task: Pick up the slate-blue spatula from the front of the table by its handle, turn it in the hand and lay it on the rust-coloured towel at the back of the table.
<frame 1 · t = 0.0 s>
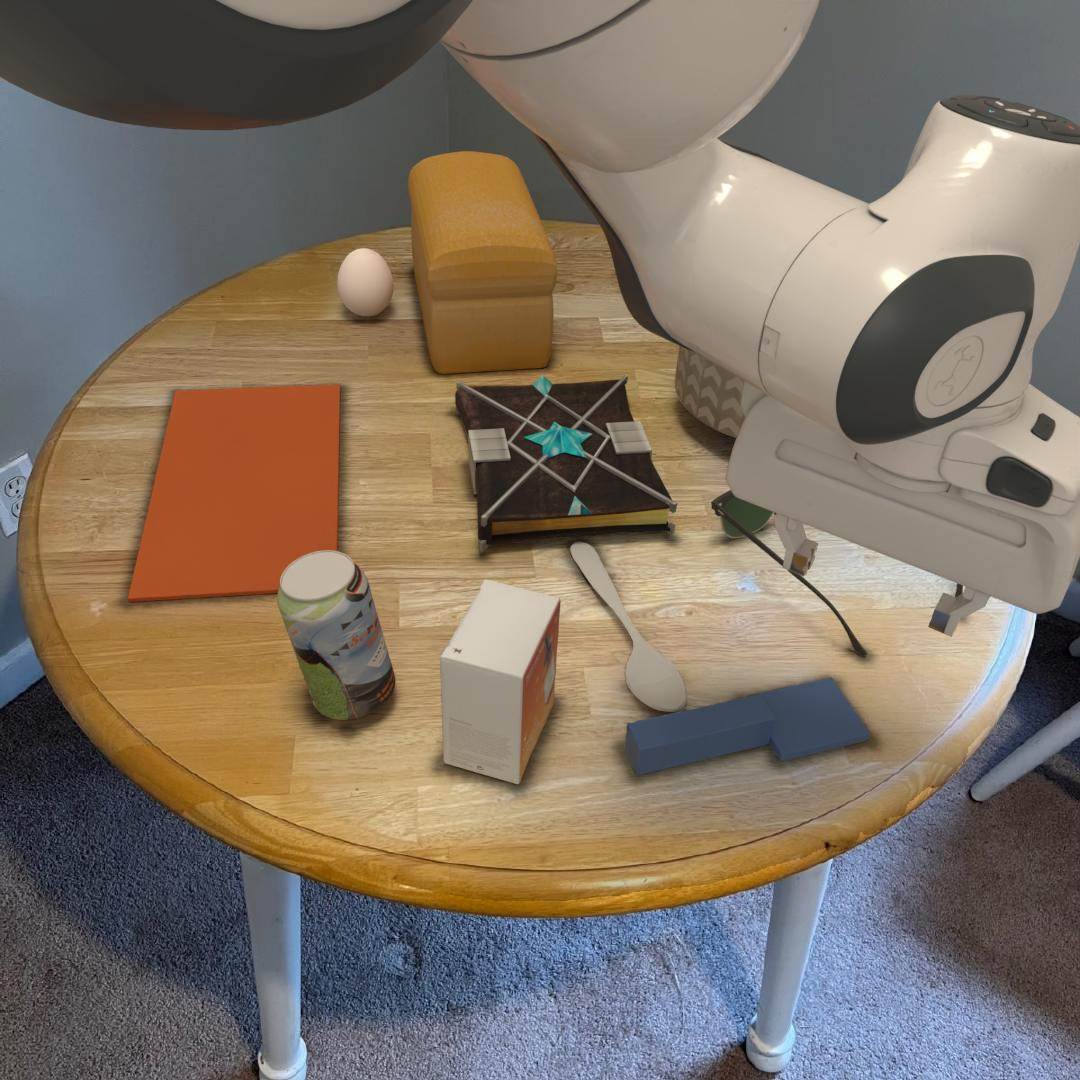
hand: (868, 596, 68), 14 cm above the table, tool pointing down, fingers open, 8 cm apart
book: (557, 473, 100), on the table, touching spoon
planter: (766, 418, 108), on the table
egg: (367, 315, 122), on the table
spoon: (620, 627, 85), on the table, touching book
beverage can: (345, 698, 79), on the table
towel: (247, 481, 97), on the table
spatula: (742, 736, 77), on the table
small box: (500, 734, 77), on the table
bread: (477, 316, 122), on the table
sunglasses: (840, 574, 91), on the table
flower pot: (701, 303, 127), on the table
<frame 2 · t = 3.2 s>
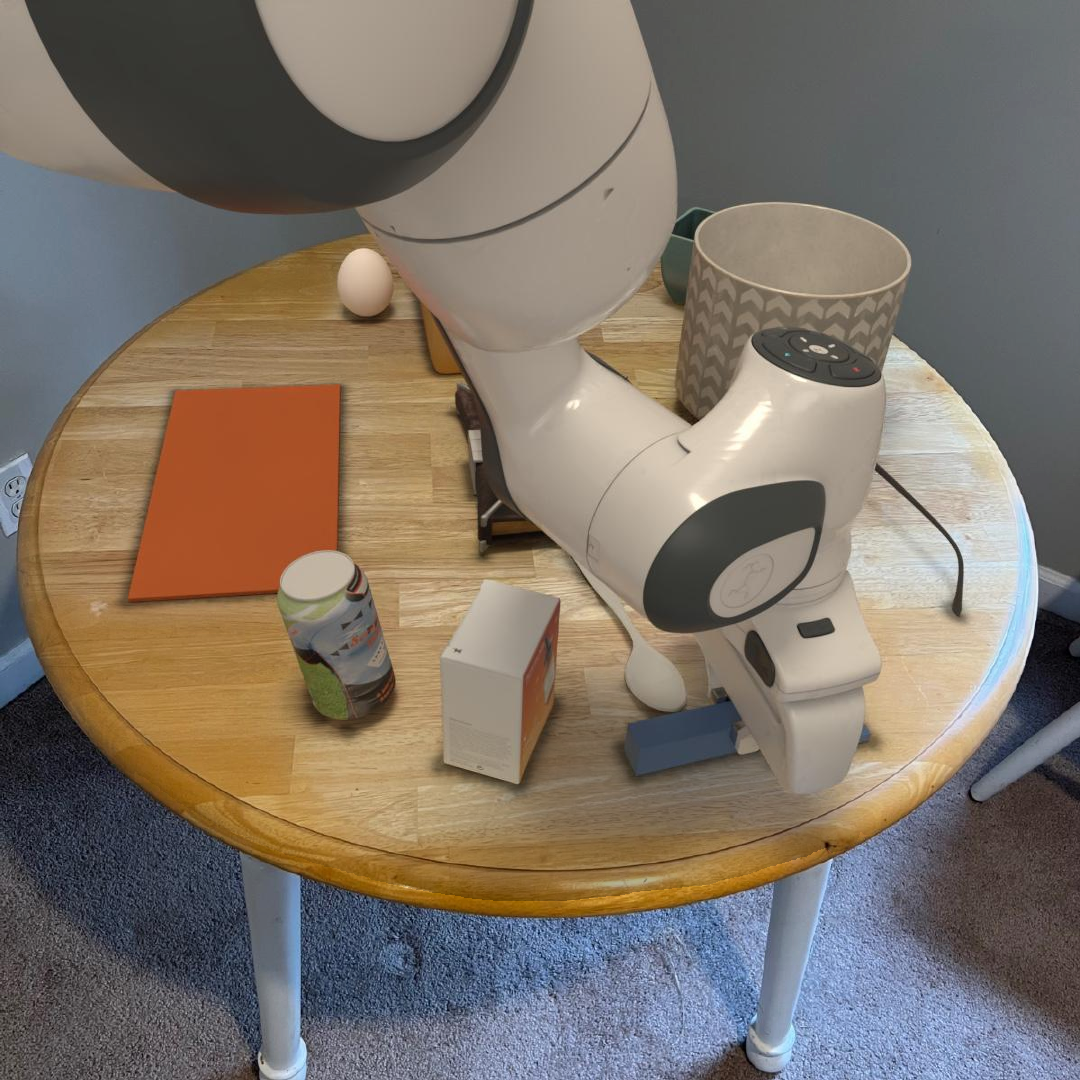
hand: (732, 725, 76), 2 cm above the table, tool pointing down, fingers closed on spatula, 2 cm apart
spatula: (742, 736, 77), on the table, touching gripper
everything else where it was.
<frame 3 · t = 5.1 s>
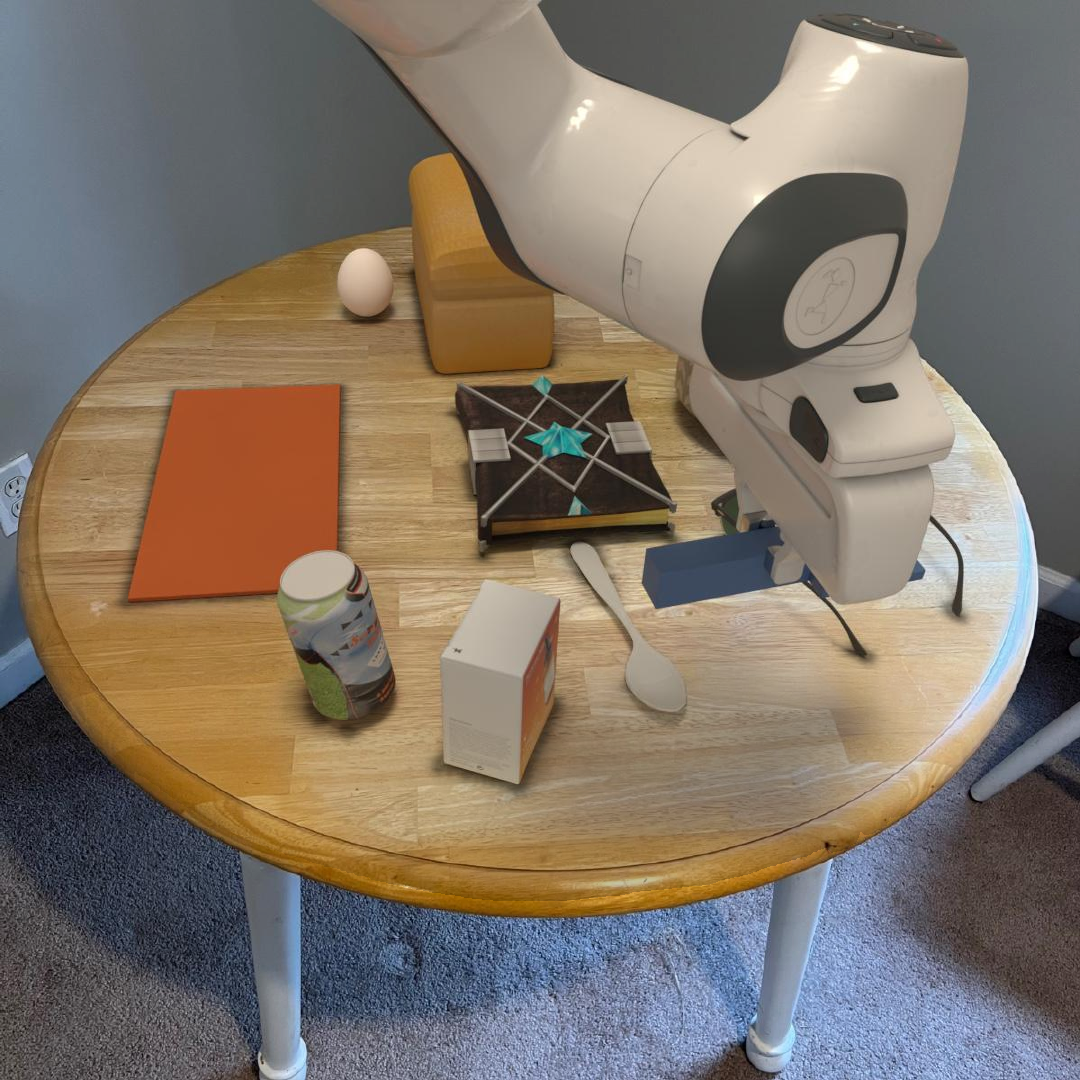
hand: (767, 555, 66), 17 cm above the table, tool pointing down, fingers closed on spatula, 2 cm apart
spatula: (777, 573, 67), point 16 cm above the table, touching gripper
everything else where it was.
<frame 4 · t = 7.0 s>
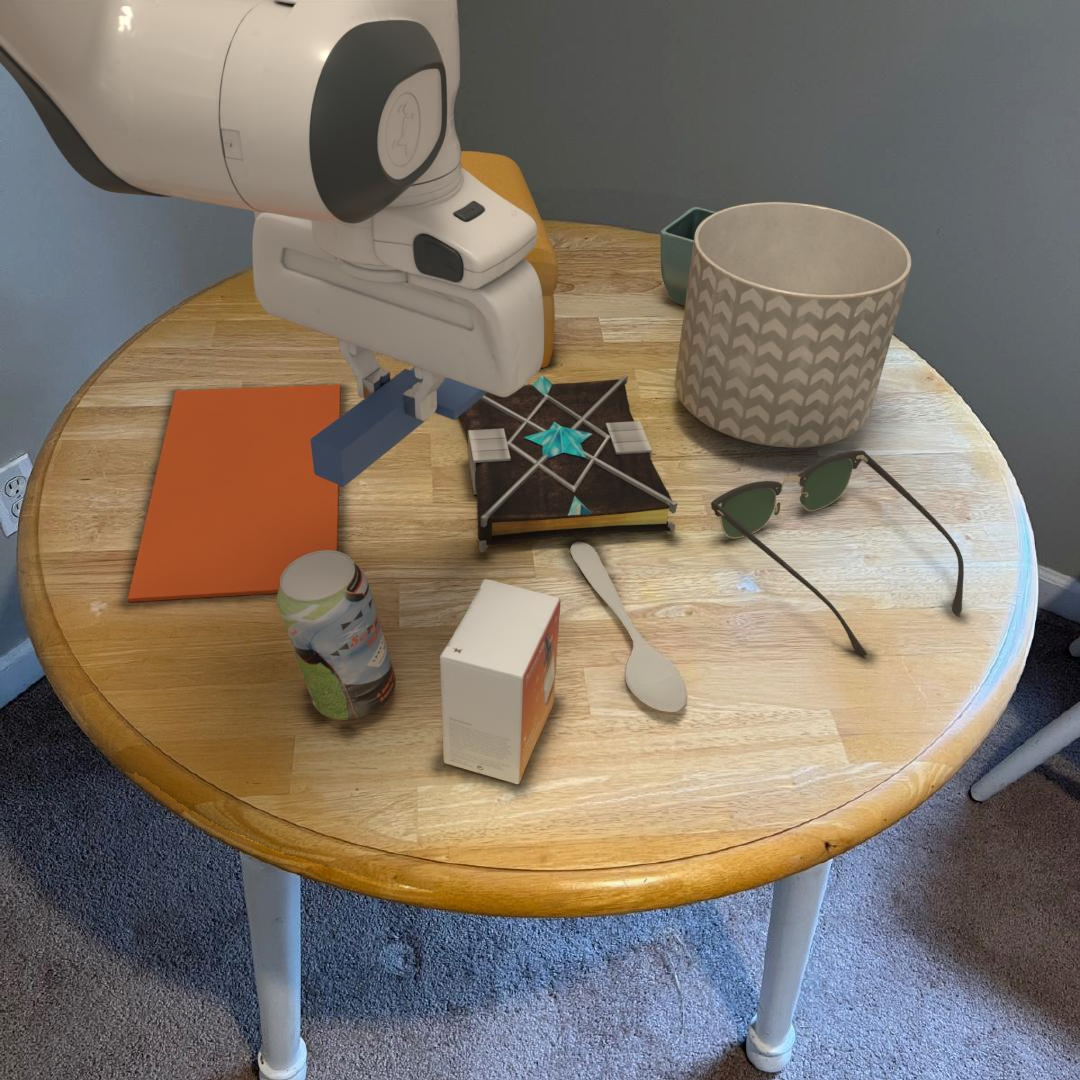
hand: (397, 405, 73), 19 cm above the table, tool pointing down, fingers closed on spatula, 2 cm apart
spatula: (408, 418, 75), point 18 cm above the table, touching gripper
everything else where it was.
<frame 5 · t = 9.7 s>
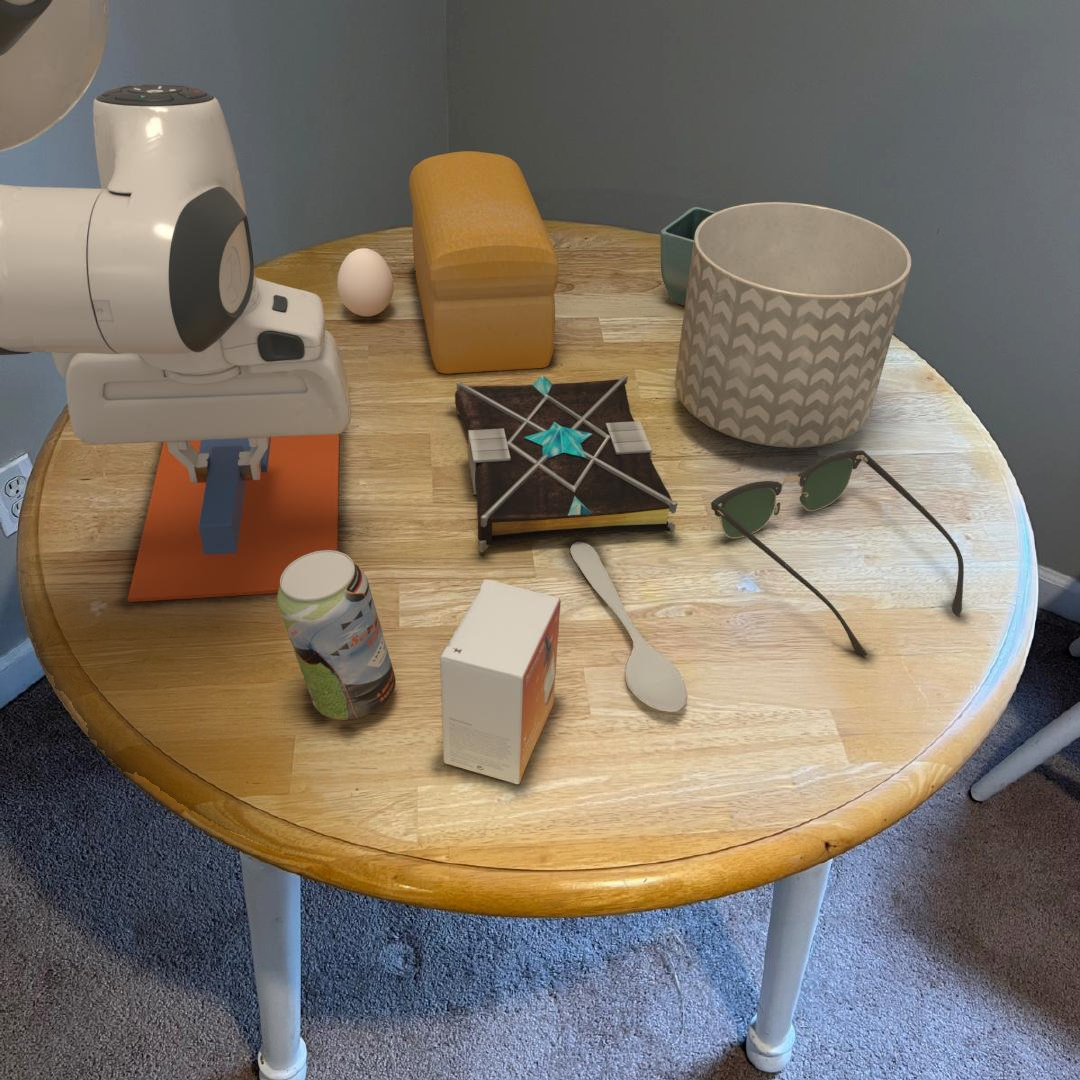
hand: (227, 477, 86), 7 cm above the table, tool pointing down, fingers closed on spatula, 2 cm apart
spatula: (230, 485, 88), point 5 cm above the table, touching gripper
everything else where it was.
when the fingers open (2 cm above the table, at t = 11.3 s): spatula stays where it is, resting on towel.
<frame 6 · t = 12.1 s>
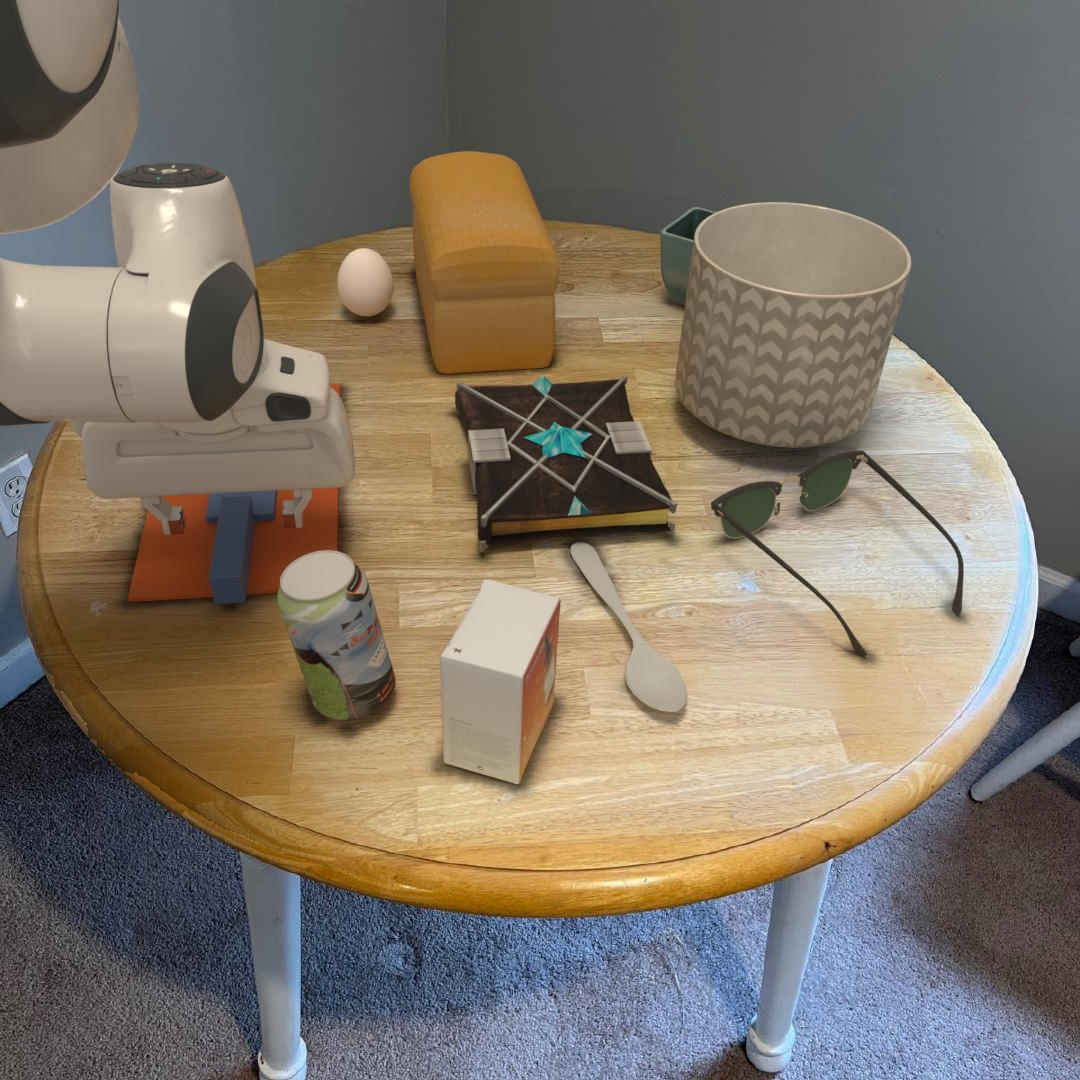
hand: (235, 527, 89), 2 cm above the table, tool pointing down, fingers open, 8 cm apart
spatula: (239, 533, 91), resting on towel
everything else where it was.
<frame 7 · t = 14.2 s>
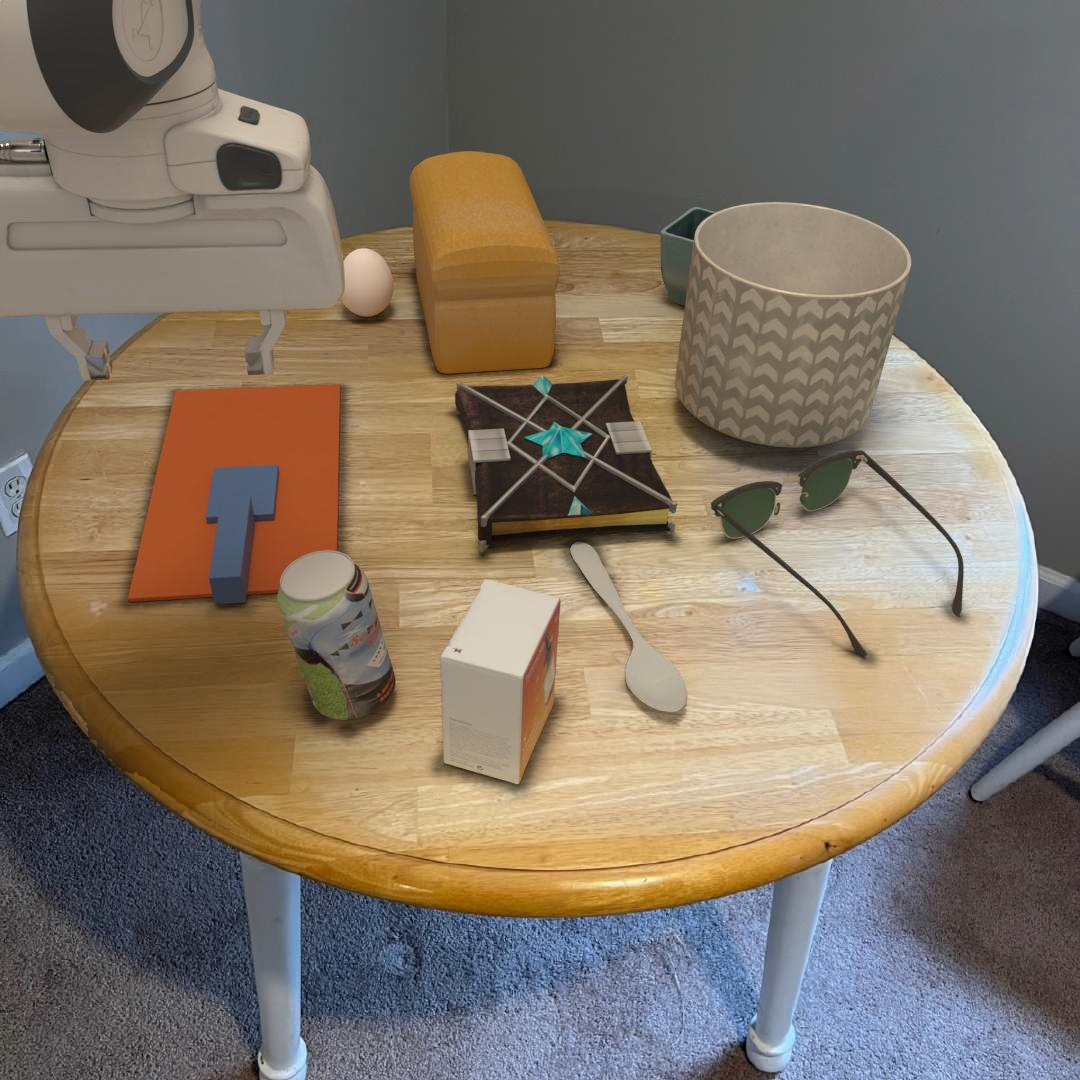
hand: (180, 373, 65), 25 cm above the table, tool pointing down, fingers open, 8 cm apart
nothing on the table moved.
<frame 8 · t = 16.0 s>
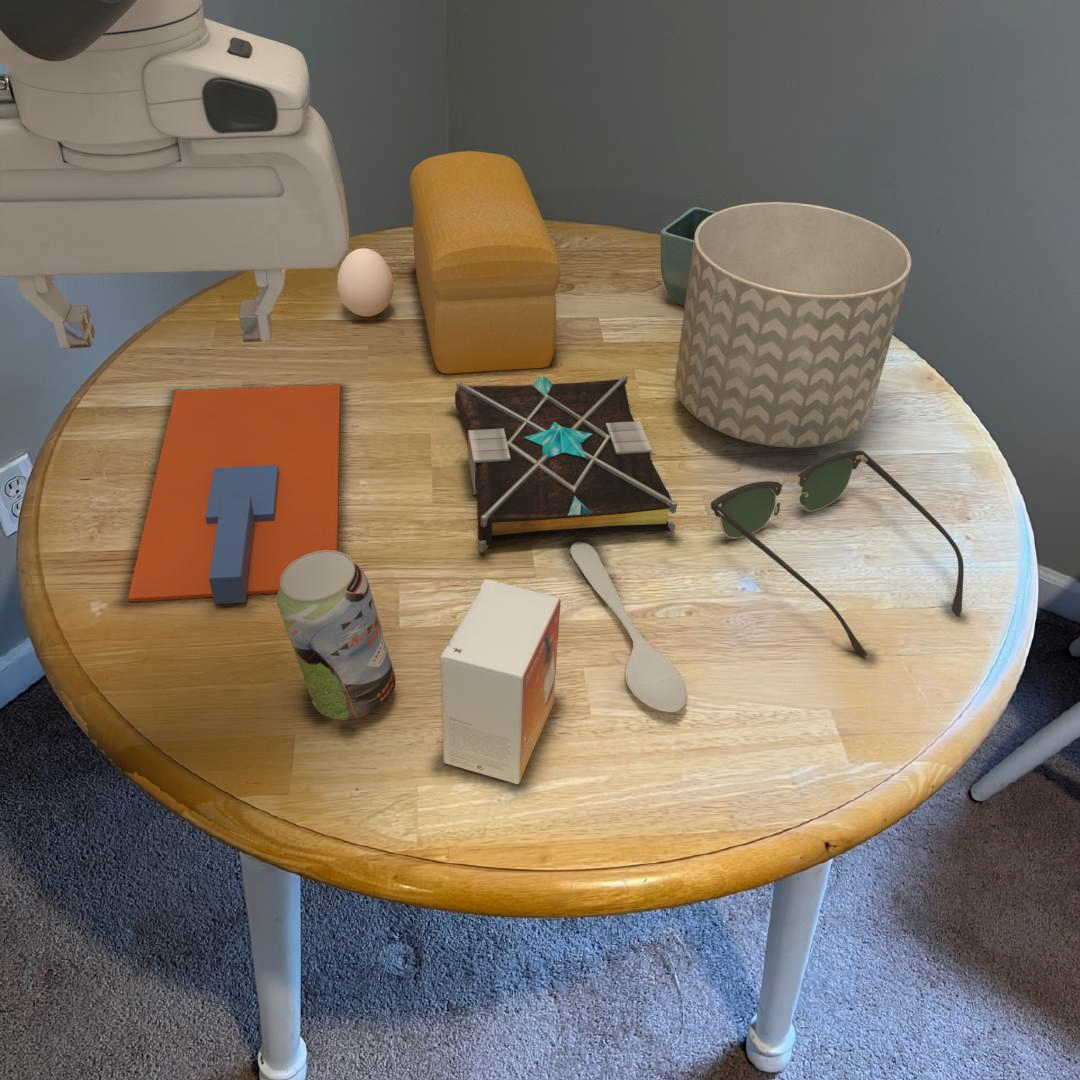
hand: (169, 340, 59), 29 cm above the table, tool pointing down, fingers open, 8 cm apart
nothing on the table moved.
at the end: spatula inside the target area on the towel (0.0 cm from its centre), point 0.4 cm above the towel's base; spatula touching towel; the gripper is holding nothing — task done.
